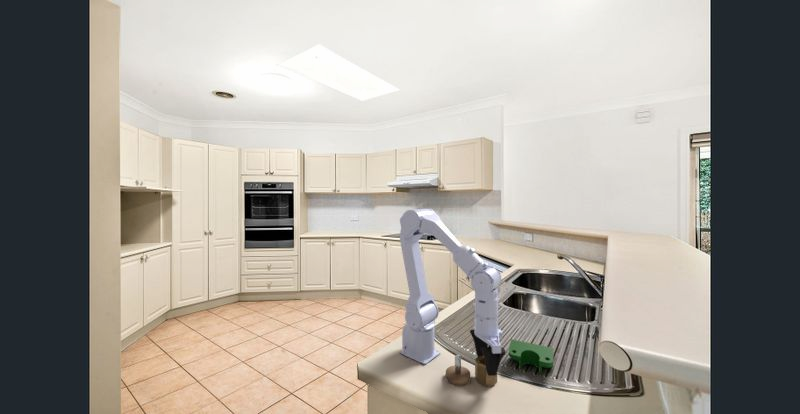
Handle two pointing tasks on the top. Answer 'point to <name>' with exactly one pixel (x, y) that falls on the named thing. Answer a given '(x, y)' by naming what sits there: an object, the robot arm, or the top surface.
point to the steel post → (458, 364)
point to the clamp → (531, 354)
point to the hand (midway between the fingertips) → (486, 365)
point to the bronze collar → (483, 373)
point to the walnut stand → (458, 376)
